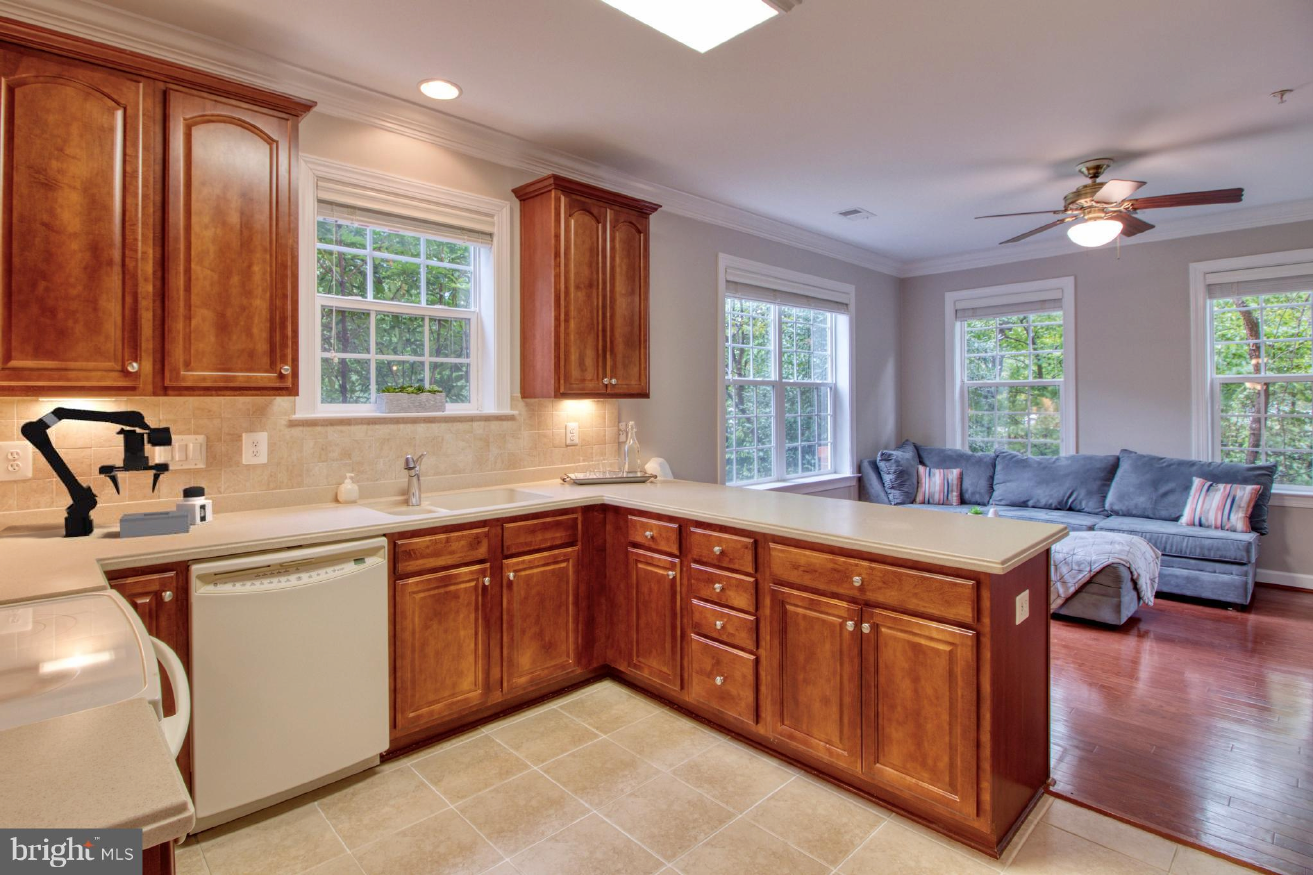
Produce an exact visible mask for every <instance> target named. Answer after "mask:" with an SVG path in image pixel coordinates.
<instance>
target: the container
mask: <svg viewBox="0 0 1313 875" xmlns="http://www.w3.org/2000/svg"><path fill="white" fill-rule="evenodd" d="M182 500H183V501H179V502H176V503H175V510H190V524H191V525H190V526H198V525H203V524H206V522H207V523H211V522H213V502H212V500H211V499H206V490H205V486H202V485H201V486H200V485H199V486H198V485H193V486H192V485H191V486H186V487H183V488H182ZM197 524H198V525H197Z"/></svg>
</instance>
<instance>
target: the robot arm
mask: <svg viewBox="0 0 1313 875" xmlns="http://www.w3.org/2000/svg"><path fill="white" fill-rule="evenodd" d="M63 420H72V421H84V422H85V421H86V422H96V423H97V422H98V423H108V424H113V425H118V426H121V427H120V428H119V430H118V431H116V432H115V435H117V436H118V435H119V436H120V435H123V436H122V441H123V459H122V465H119V466H118V465H116V464H102V465H100V466H99V467H98V475H100V476H101V475H103V477H104V478H108V479H109V480H110V482H111V483H112V485H113V487H114V489H115V491H116V493H117V496H120V495H121V489H120V482H119V476H118V472H121V473H122V472H123V473H124V472H126V473H128V472H129V473H130V472H142V471H147V472H148V471H154V472H153V477H152V486H151V492H152V494H154V493H155V490H156V489H157V488H156V487H157V485H158V481H159V479H160V477H161V475H165V473H166V472H167V473H168V472H170V470H171V469H170V463H169V462H168V461H167V462H166V461H165V462H155V463H154V464H150V456H149V455H146V444H147V445H150V447H151V448H157V447H158V448H159V447H160V448H161V447H163V448H164V447H172V445H173V437H172V433H171V432H172V431H171V427H170V426H163V427H152V426H151V425H150V424H148V423H147V422H146V421H145V420H146V419H145V415H144V413H142V412H140V411H138V410H118V411H117V410H116V411H113V410H112V411H107V410H105V411H103V410H92V409H81V408H80V409H79V408H70V407H69V408H68V407H63V406H57V407H54V408H53V409H52V411H50V412H48V413H46V414H45V415H43V416H40V418H38V419H36V420H28V421H26V422H25V423H23V424H22V425H21V427H20V433H21V436H23V438H25V439H26V440H27V441H28V442H29V443H30V444H31V445H32V446H33V447H34V448H35V449H37V451H38V452H39V453H40V455H42V457H43V458H44V459H45V461H46V462H47V464H48V465H49V466H50V467H51V469H52V470H53V472H54V473H55V474H56V475H57V476H58V478H59V480H60V481H61V483H62V484H63V485H64V486H65V488H66V490H67V492H68V495H69V497H70V499H71V502H72V503H71V504H69V505H68V506H67V507H66V508H65V509H64V511H65V513H66V516H64V535H63V537H64V538H72V537H82V536H83V537H86V536H91V535H92V534H93V533H94V532H95V524H94V523H95V522H94V521H95V520H94V519H93V518H92V514H91V512H92V511H93V510H94V509H96V507H97V505H98V500H97V499H98V497H99V496H98V495H97V493H95V492H94V491H93V489H92V486H91V485H90V484H87V485H85V486H84V485H83V484H82V483H80V481H79V480H78V479H77V477H76V476H75V474H74V473H73V472H72V470H71V469H70V468H69V466H68V465H67V463H66V461H65V460H64V459H63V458H62V457H61V455H60V453H59V452H58V451H57V450H56V448H55V447H54V445H53V443H52V440H51V438H50V435H49V433H48V430H49V429H51V428H52V427H53V426H55V425H57V424H58V423H60V422H61V421H63ZM124 427H126V428H130V429H125V428H124ZM131 428H133V429H131ZM136 428H137V429H139V430H141V431H143V432H141V431H139V432H137V430H136ZM144 431H145V432H144ZM145 436H146V437H145ZM145 439H146V441H145ZM145 443H146V444H145Z"/></svg>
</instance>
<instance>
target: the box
mask: <svg viewBox="0 0 1313 875" xmlns="http://www.w3.org/2000/svg"><path fill="white" fill-rule="evenodd" d="M189 529H191V525H190V510H176V509H175V510H163V511H151V512H150V511H149V512H136V513H135V512H134V513H123V515H122V516H121V517H120V519H119V539H126V538H128V539H129V538H139V537H140V538H141V537H152V536H154V537H155V536H164V535H174V533H178V534H188V533H190V530H189Z"/></svg>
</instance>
